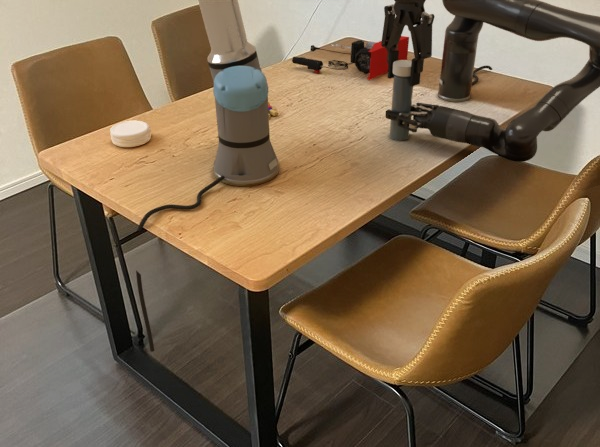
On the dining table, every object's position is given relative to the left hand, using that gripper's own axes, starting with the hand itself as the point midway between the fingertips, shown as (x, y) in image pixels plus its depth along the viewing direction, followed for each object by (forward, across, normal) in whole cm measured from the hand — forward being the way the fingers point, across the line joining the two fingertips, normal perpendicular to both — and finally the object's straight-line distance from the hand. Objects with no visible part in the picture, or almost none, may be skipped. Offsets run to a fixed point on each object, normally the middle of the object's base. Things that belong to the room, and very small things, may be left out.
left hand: (403, 80), depth 153 cm
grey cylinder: (+15, 0, 0) cm, 15 cm away
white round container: (+15, -44, -54) cm, 71 cm away
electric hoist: (+15, -51, +30) cm, 61 cm away
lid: (-4, 0, 0) cm, 4 cm away
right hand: (+8, -2, -1) cm, 9 cm away
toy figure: (+15, -38, -18) cm, 44 cm away
